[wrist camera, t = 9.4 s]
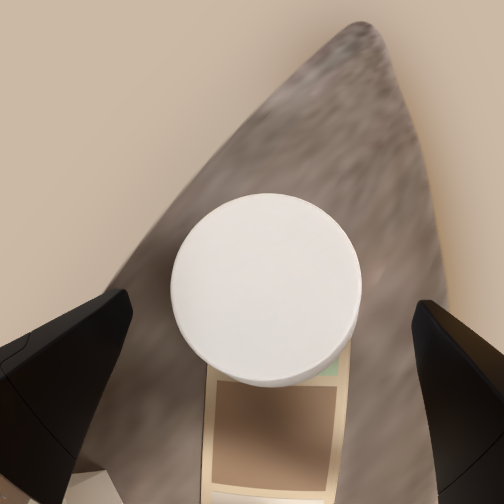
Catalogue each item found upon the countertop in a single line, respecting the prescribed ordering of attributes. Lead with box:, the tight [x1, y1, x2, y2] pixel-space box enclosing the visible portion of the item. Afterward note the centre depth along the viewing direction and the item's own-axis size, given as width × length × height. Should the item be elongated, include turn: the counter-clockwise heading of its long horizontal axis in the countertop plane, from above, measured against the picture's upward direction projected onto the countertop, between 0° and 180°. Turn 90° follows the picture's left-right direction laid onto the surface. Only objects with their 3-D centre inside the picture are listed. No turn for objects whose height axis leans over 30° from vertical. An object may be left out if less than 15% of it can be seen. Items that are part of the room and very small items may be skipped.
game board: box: [201, 339, 351, 504], centre depth 15 cm, size 21×8×1 cm, turn 176°
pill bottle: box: [170, 193, 362, 387], centre depth 12 cm, size 6×6×10 cm
